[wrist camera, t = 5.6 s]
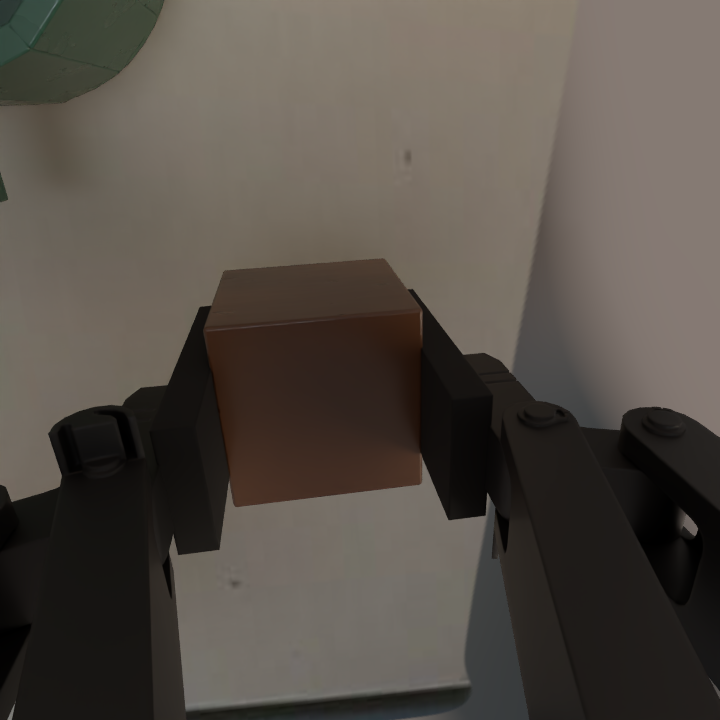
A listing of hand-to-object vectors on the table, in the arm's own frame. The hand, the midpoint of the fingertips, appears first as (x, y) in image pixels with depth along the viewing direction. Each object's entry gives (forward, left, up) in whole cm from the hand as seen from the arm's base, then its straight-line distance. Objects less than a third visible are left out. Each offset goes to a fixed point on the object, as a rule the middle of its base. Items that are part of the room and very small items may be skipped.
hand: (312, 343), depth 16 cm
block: (0, 0, 0) cm, 0 cm away
